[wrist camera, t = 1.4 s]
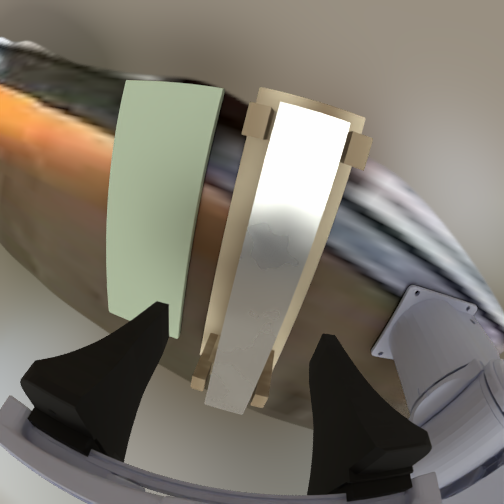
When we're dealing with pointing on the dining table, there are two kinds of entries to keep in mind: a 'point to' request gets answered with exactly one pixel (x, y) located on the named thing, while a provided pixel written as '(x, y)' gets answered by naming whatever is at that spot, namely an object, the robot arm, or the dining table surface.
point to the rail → (275, 247)
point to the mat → (157, 193)
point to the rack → (239, 214)
